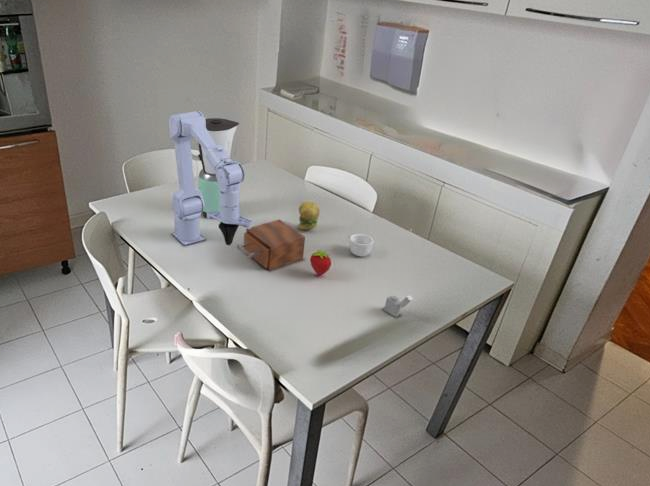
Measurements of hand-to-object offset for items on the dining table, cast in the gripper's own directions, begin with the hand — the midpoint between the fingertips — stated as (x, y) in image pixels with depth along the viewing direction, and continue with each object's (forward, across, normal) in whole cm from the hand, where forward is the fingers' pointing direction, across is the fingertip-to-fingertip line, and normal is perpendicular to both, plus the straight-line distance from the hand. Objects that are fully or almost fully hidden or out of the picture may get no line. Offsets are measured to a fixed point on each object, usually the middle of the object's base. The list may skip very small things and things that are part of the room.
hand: (229, 243), depth 163 cm
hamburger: (+10, -14, -37) cm, 41 cm away
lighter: (+10, -53, 0) cm, 54 cm away
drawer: (+9, -7, -11) cm, 16 cm away
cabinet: (+10, -10, -15) cm, 20 cm away
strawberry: (+10, -27, -10) cm, 30 cm away
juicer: (+10, +23, -35) cm, 43 cm away
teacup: (+10, -34, -30) cm, 47 cm away
